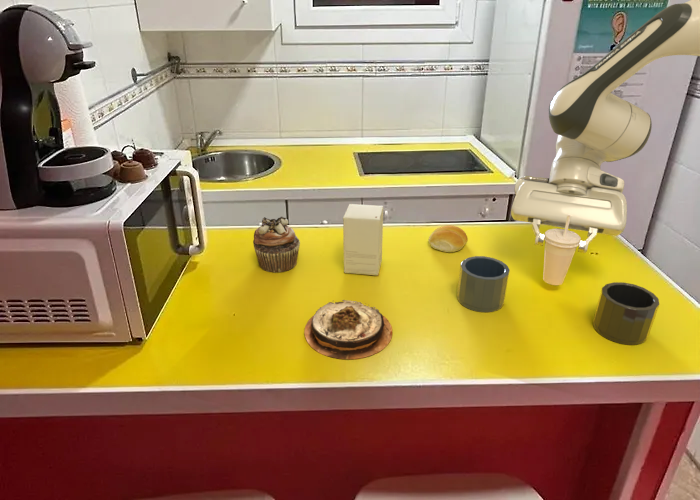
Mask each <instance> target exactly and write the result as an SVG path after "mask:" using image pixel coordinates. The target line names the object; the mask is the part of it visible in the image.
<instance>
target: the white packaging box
mask: <svg viewBox="0 0 700 500" xmlns="http://www.w3.org/2000/svg"><path fill="white" fill-rule="evenodd" d="M342 226H343V227H342V228H343V229H342V230H343V235H342V236H343V272H344V274H354V275H364V276H365V275H366V276H379V274H380V269H381V265H382V261H383V238H384V237H383V233H384V205H377V204H376V205H373V204H360V203H359V204H357V203H349V204H348V206H347V209H346V210H345V213H344V215H343V216H342Z"/></svg>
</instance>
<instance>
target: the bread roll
mask: <svg viewBox="0 0 700 500" xmlns="http://www.w3.org/2000/svg"><path fill="white" fill-rule="evenodd" d="M468 241H469V238H468V235H467V233H466V232H465V230H463V229H462V228H460V227H459V226H456V225H452V224H448V225H443V226H440V227H437V228H435V229H434V230H433V231H432V232H431V234H430V235H429V236H428V245H429V246H430V247H431V248H433V249H434V250H437V251H441V252H444V253H454V252H455V253H456V252H459V251H461V250H462V249H463V248H464V247H465V246H466V244H467V243H468Z"/></svg>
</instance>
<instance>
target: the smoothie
mask: <svg viewBox="0 0 700 500" xmlns="http://www.w3.org/2000/svg"><path fill="white" fill-rule="evenodd" d="M570 217H571V215H567V220H566V225H565V228H550V229H547V230H546V231H545V232H544V235H545V236H544V242H545V243H544V255H543V256H544V258H543V259H544V260H543V274H542V276H543V277H542V279H543V281H544V282H545V283H547V284H548V285H551V286H560V285H563V283H564V281H565V279H566V276H567V274H568V271H569V270H570V266H571V264H572V261H573V258H574V256H575V253H576V250H577V249H578V248H577V247H579V245H580V241H582V240H581V239H582V238H581V236H580V235H579V234H578V233H576V232H575V231H572V230H569V229H568V226H569V222H570Z"/></svg>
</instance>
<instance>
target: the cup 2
mask: <svg viewBox="0 0 700 500" xmlns="http://www.w3.org/2000/svg"><path fill="white" fill-rule="evenodd" d="M659 307H660V301H659V298H658V296H656V295H655V294H654V293H653V292H652V291H650V290H648V289H646V288H645V287H643V286H640V285H637V284H634V283H629V282H623V281H622V282H621V281H620V282H617V281H616V282H615V281H614V282H609V283H606V284H605V285H604V286H603V287H602V288H601V290H600V294H599V298H598V302H597V305H596V309H595V313H594V316H593V321H592V325H593V329H594V330H595V331H596V332H597V333H598V335H600V336H601V337H603V338H605V339H607V340H608V341H611V342H614V343H616V344H620V345H625V346H626V345H627V346H637V345H638V346H639V345H642V344H644V343H645V342H646V341H647V340H648V337H649V336H650V333H651V330H652V327H653V324H654V322H655V318H656V315H657V312H658V310H659Z"/></svg>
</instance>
